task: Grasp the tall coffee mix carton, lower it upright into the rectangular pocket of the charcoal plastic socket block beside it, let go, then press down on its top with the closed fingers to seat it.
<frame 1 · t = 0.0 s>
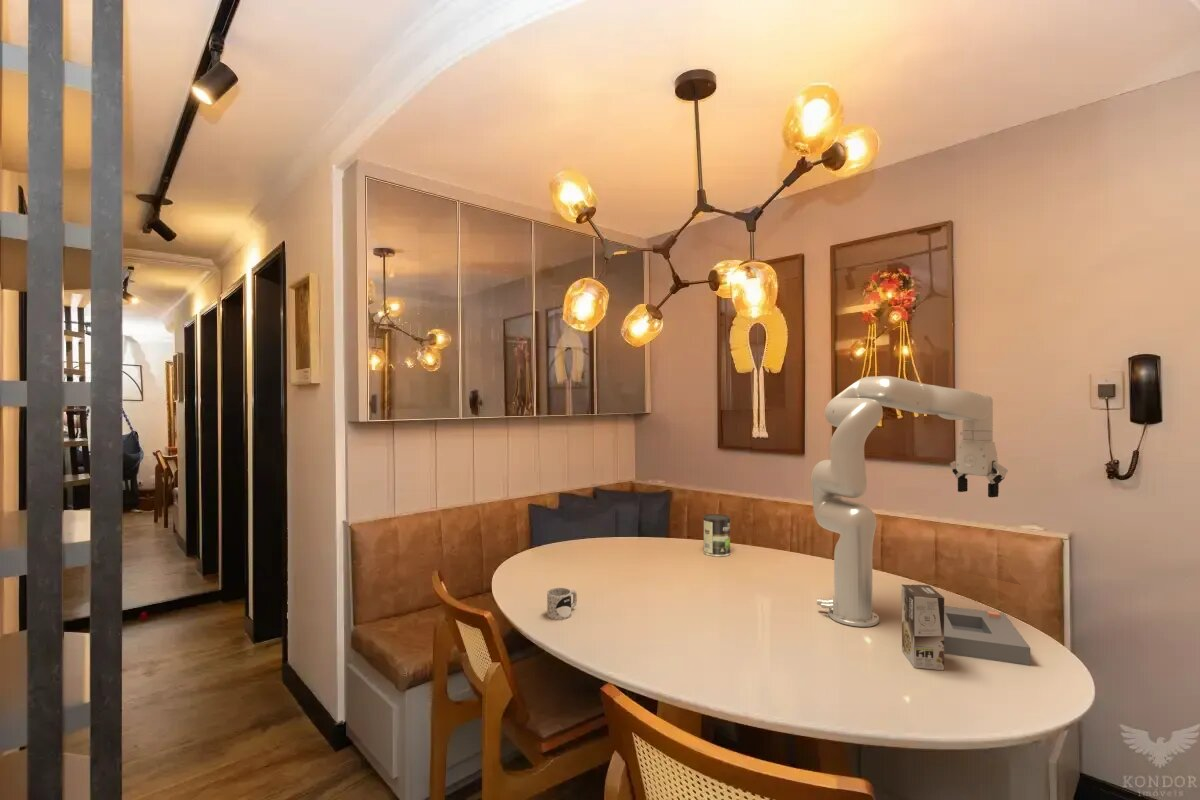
hand: (977, 494, 169), 31 cm above the table, tool pointing down, fingers open, 9 cm apart
coffee can: (716, 553, 221), on the table
coffee box: (922, 661, 131), on the table
socket: (967, 639, 142), on the table
mug: (563, 614, 161), on the table
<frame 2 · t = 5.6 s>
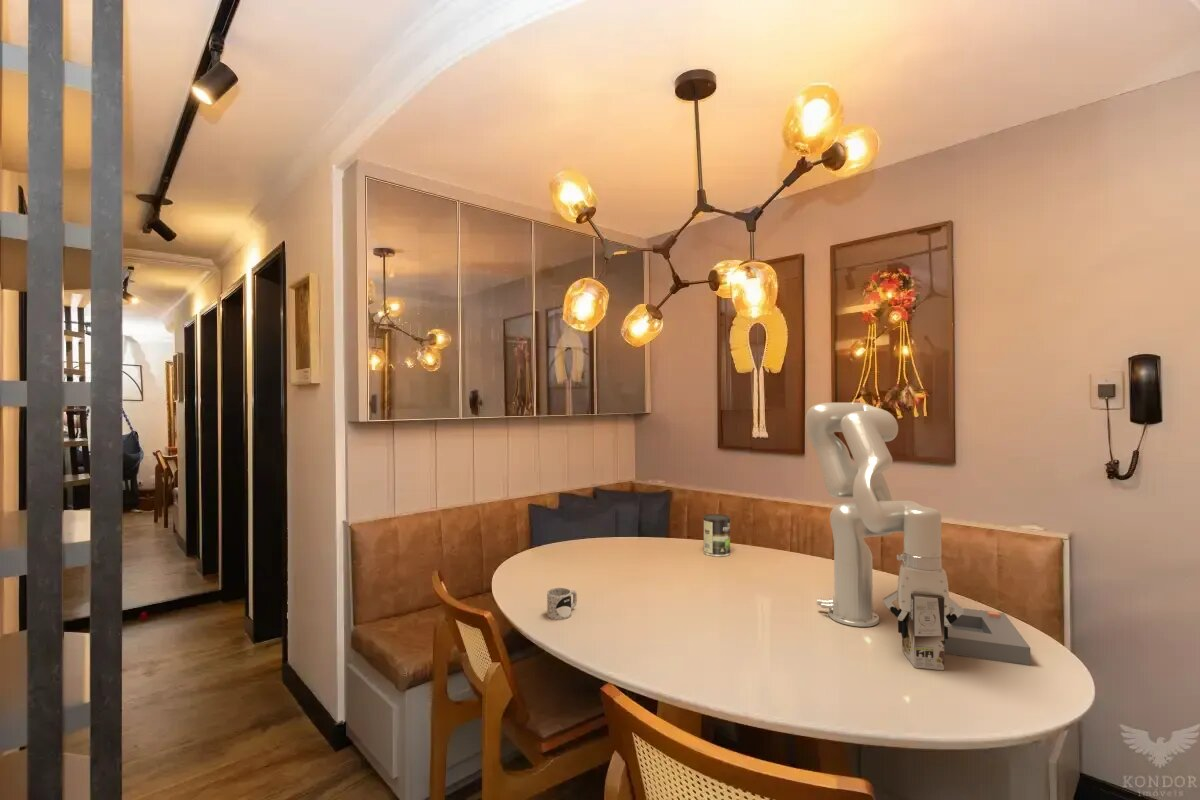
hand: (922, 638, 131), 5 cm above the table, tool pointing down, fingers closed on coffee box, 7 cm apart
coffee box: (922, 661, 131), on the table, touching gripper
everything else where it was.
when the fingers open (7 cm above the table, at t = 11.6 s): coffee box drops 1 cm, resting on socket.
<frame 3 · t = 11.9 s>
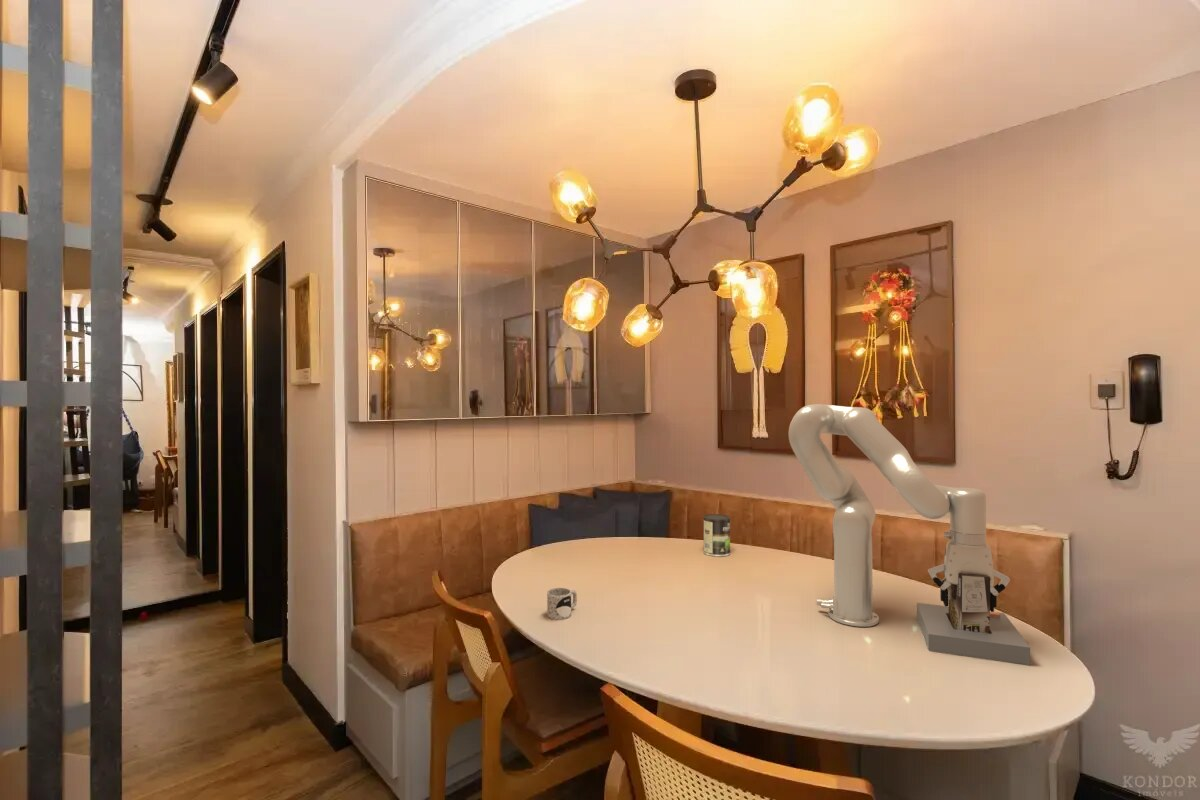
hand: (967, 607, 142), 8 cm above the table, tool pointing down, fingers open, 9 cm apart
coffee box: (968, 635, 142), point 1 cm above the table, touching socket
everything else where it was.
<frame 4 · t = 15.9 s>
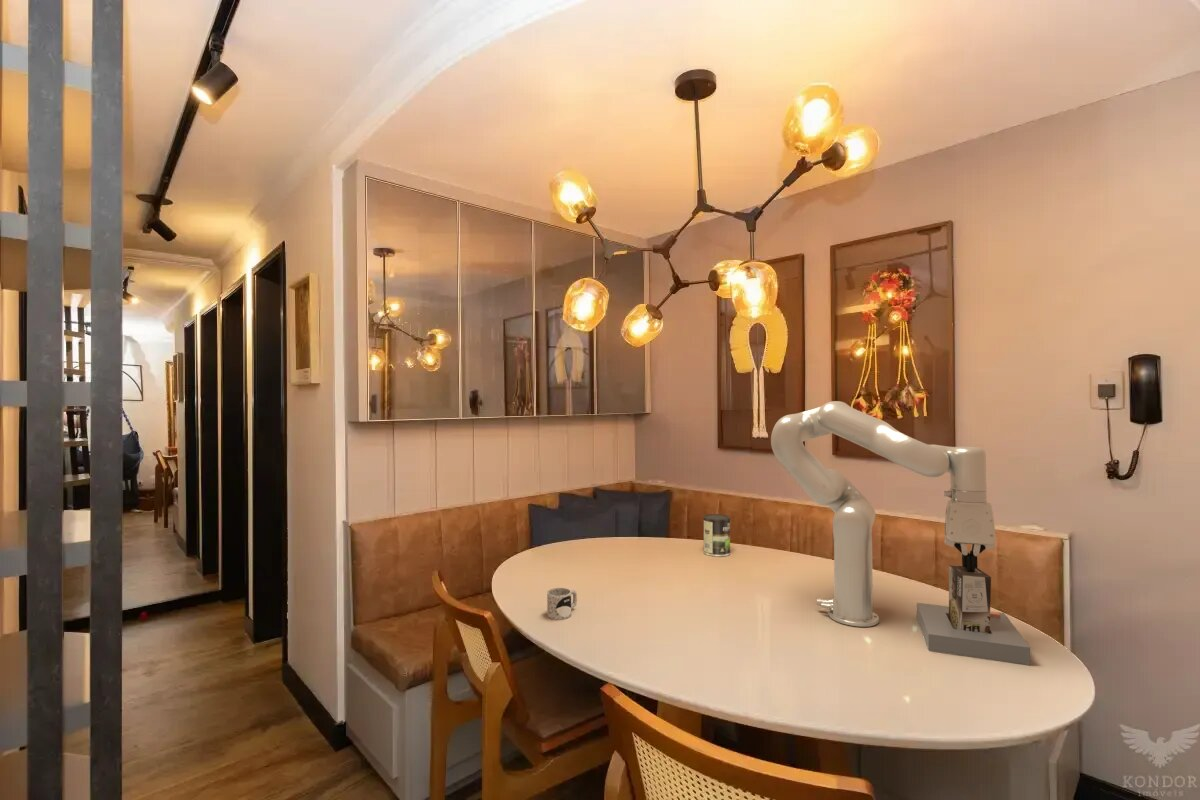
hand: (969, 570, 142), 17 cm above the table, tool pointing down, fingers closed
coffee box: (968, 635, 142), point 1 cm above the table, touching gripper, socket
everything else where it was.
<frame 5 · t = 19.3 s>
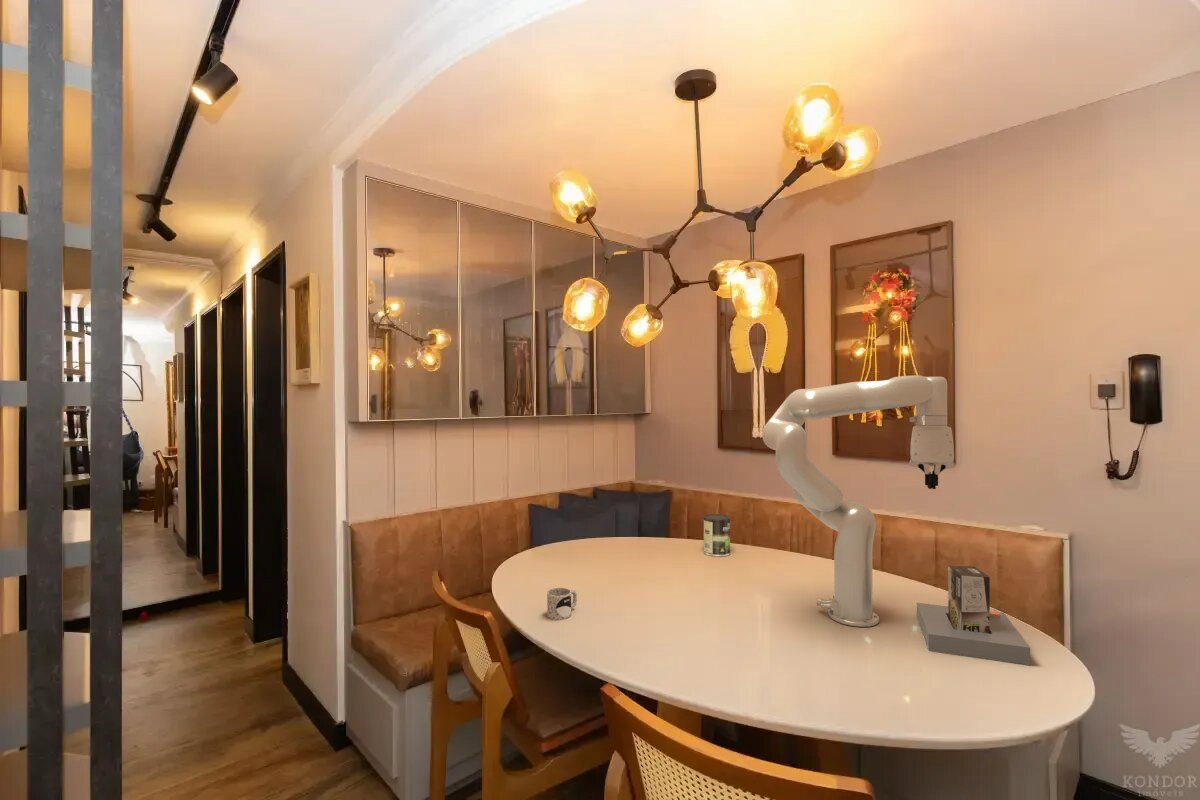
hand: (931, 488, 157), 35 cm above the table, tool pointing down, fingers closed
coffee box: (968, 636, 142), point 1 cm above the table, touching socket
everything else where it was.
at the end: coffee box 0.1 cm off-centre on the socket, point 0.8 cm above the socket's base; coffee box tilted 0°; the gripper is holding nothing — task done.
